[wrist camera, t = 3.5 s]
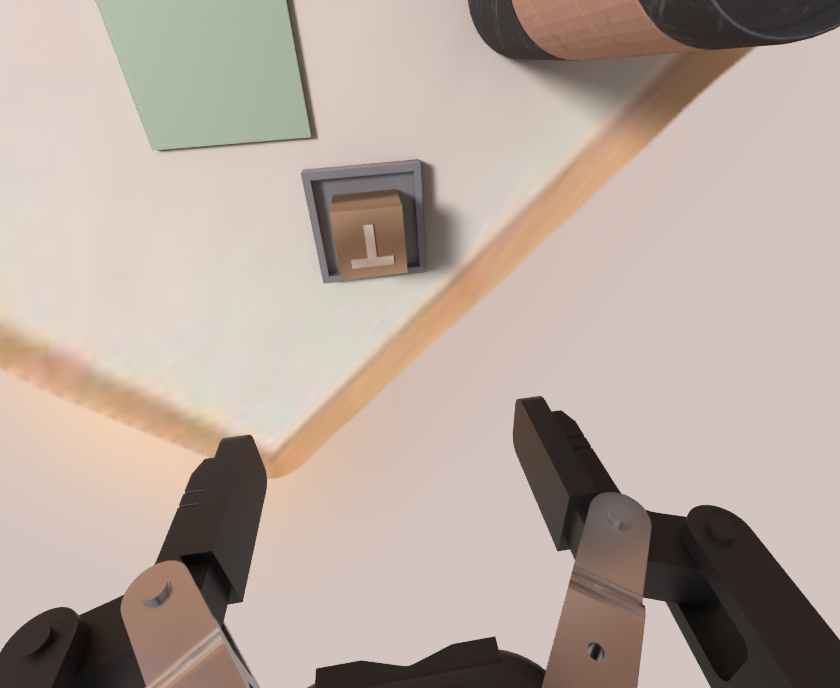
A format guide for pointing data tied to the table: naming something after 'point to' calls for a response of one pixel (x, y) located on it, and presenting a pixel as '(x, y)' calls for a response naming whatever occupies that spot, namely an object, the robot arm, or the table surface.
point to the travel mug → (644, 25)
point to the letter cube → (369, 234)
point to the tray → (365, 179)
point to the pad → (209, 70)
